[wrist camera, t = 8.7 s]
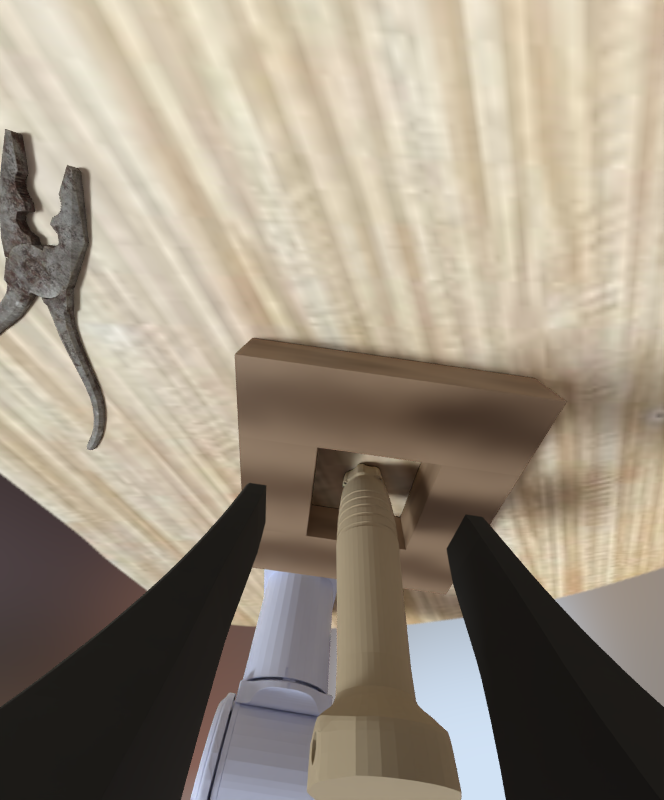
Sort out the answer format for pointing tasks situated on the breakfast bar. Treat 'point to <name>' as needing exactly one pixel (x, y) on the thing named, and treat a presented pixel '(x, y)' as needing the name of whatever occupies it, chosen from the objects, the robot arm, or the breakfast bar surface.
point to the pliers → (45, 261)
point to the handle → (375, 670)
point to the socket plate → (381, 446)
